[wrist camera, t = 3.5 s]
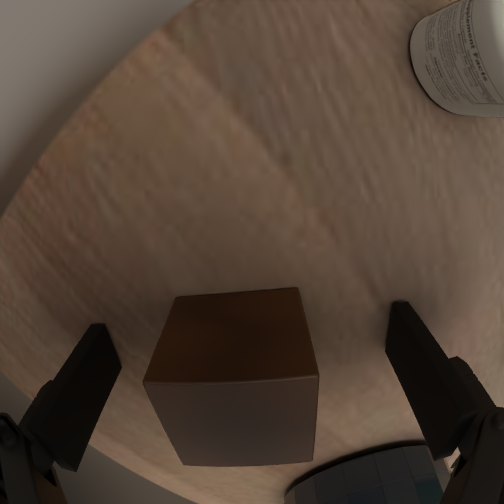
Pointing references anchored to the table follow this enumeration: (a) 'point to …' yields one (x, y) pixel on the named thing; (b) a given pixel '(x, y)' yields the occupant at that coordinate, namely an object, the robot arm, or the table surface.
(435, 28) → the pill bottle
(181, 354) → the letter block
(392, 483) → the blue round bin
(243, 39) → the table surface
